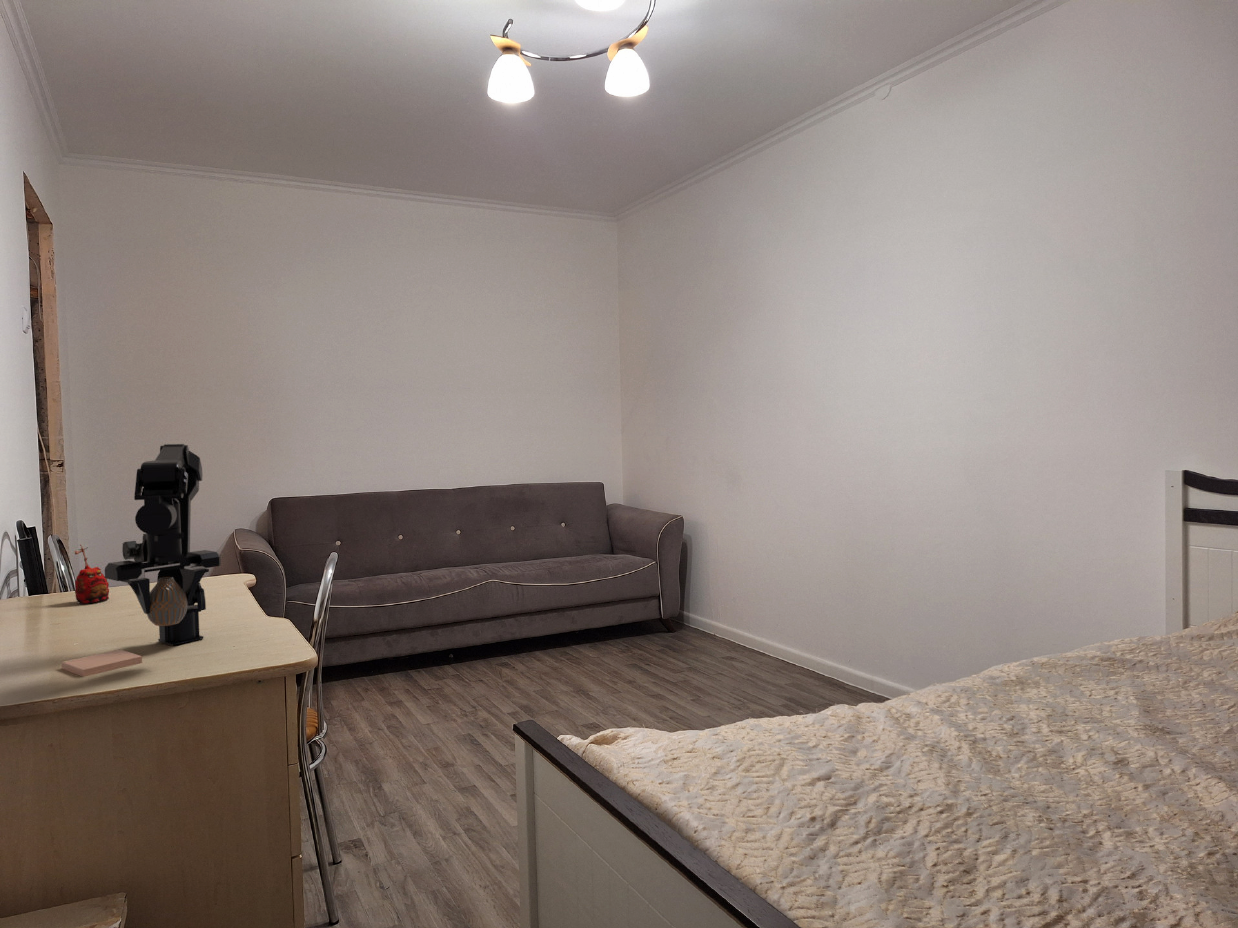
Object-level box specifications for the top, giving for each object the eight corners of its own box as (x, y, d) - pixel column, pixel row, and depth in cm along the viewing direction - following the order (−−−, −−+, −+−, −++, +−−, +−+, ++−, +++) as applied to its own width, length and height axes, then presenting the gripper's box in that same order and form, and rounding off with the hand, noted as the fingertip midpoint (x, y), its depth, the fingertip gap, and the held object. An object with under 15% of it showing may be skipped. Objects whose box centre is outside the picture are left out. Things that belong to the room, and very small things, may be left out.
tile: (119, 649, 157) (141, 656, 152) (119, 656, 157) (142, 664, 152) (61, 661, 148) (83, 669, 143) (62, 669, 149) (83, 678, 143)
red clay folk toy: (88, 605, 201) (85, 547, 201) (67, 604, 203) (65, 546, 203) (115, 599, 209) (113, 542, 208) (95, 598, 211) (92, 542, 210)
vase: (194, 619, 155) (193, 574, 154) (176, 627, 148) (175, 580, 147) (158, 619, 154) (157, 574, 154) (138, 628, 147) (137, 581, 147)
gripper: (192, 520, 162) (194, 596, 163) (89, 531, 147) (93, 614, 148) (220, 523, 156) (223, 602, 157) (116, 535, 141) (120, 622, 142)
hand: (166, 609), depth 151 cm, fingers closed on vase, 7 cm apart
